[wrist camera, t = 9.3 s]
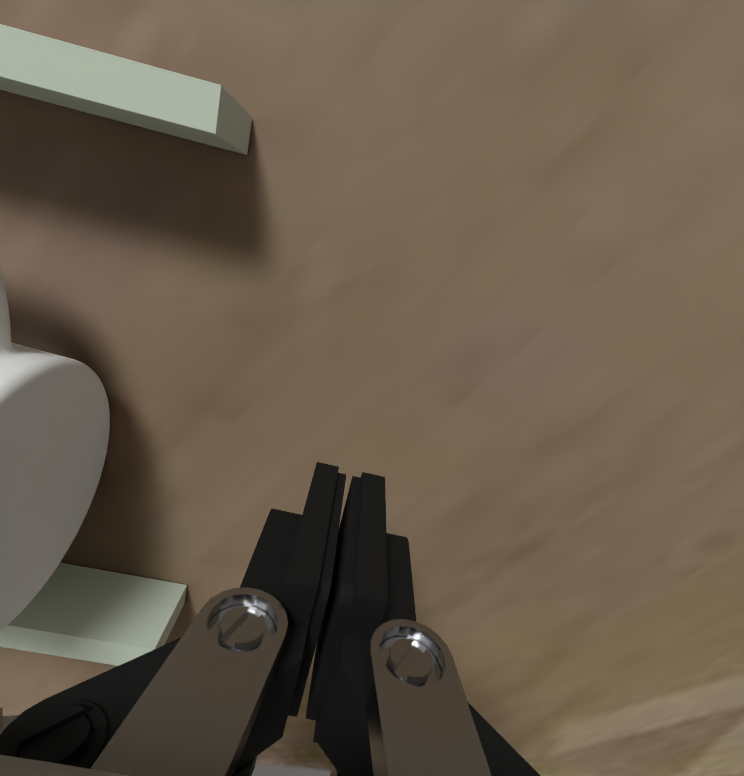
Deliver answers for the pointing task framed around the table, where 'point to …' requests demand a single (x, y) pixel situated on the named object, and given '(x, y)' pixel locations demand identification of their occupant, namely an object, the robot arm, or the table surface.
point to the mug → (44, 461)
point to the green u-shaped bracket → (170, 116)
